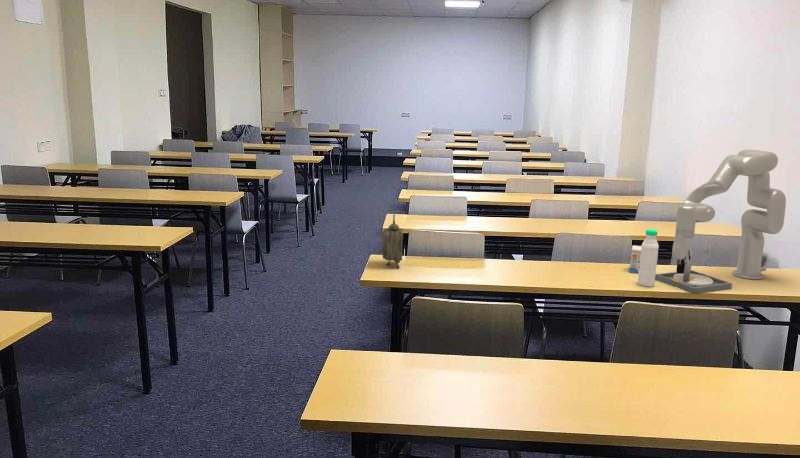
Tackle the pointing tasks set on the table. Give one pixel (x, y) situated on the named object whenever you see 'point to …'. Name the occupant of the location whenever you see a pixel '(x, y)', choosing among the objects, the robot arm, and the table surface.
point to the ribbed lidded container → (392, 243)
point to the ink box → (635, 259)
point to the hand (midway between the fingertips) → (680, 273)
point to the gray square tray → (716, 286)
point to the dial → (692, 277)
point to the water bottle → (648, 259)
